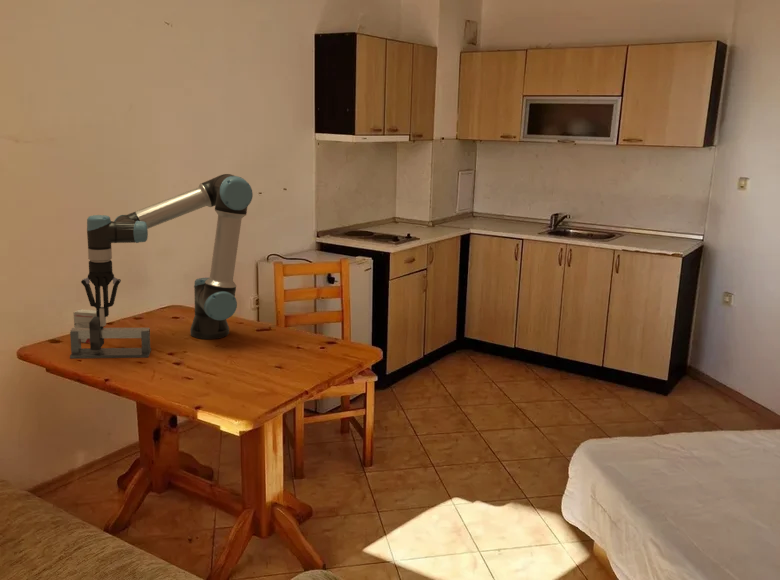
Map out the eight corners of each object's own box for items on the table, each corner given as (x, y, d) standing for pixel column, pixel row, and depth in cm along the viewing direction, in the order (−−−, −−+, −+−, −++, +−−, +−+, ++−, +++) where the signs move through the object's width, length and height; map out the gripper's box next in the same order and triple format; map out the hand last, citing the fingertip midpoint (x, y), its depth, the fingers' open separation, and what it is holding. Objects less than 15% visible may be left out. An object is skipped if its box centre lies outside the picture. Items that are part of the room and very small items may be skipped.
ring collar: (104, 342, 248) (103, 316, 246) (99, 350, 240) (98, 322, 238) (95, 343, 247) (94, 316, 245) (90, 350, 240) (89, 322, 237)
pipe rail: (151, 350, 252) (150, 325, 250) (148, 357, 244) (147, 331, 242) (75, 351, 247) (74, 325, 244) (70, 358, 239) (68, 331, 237)
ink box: (103, 340, 260) (101, 310, 258) (96, 343, 256) (95, 313, 253) (81, 338, 261) (80, 308, 258) (74, 341, 256) (72, 311, 254)
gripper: (122, 258, 242) (124, 322, 247) (82, 257, 239) (85, 322, 245) (118, 262, 235) (120, 328, 240) (77, 262, 232) (81, 328, 238)
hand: (103, 325), depth 242 cm, fingers closed
